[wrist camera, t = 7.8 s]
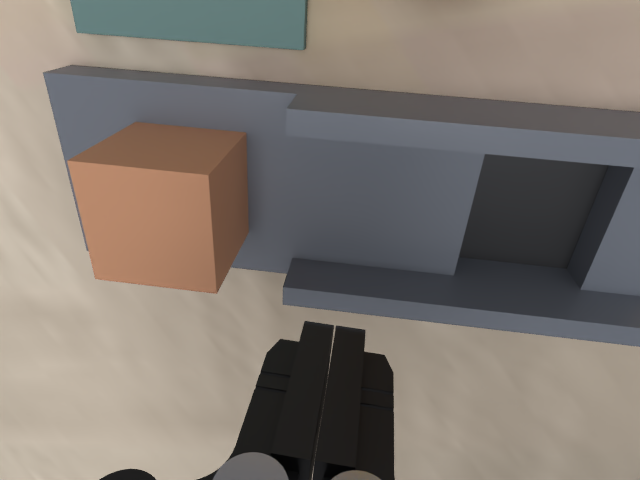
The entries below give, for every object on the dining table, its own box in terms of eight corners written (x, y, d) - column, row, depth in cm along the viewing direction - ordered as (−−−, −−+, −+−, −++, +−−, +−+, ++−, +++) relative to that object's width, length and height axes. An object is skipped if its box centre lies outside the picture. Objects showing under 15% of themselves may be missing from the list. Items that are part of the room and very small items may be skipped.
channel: (702, 117, 19) (786, 151, 15) (617, 288, 23) (665, 349, 19) (71, 65, 21) (0, 83, 17) (107, 232, 25) (57, 277, 21)
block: (246, 132, 19) (208, 175, 15) (248, 232, 22) (216, 293, 17) (135, 121, 20) (66, 160, 15) (150, 221, 22) (95, 278, 18)
